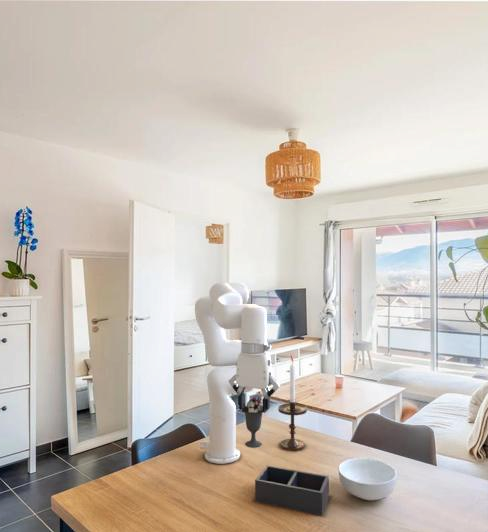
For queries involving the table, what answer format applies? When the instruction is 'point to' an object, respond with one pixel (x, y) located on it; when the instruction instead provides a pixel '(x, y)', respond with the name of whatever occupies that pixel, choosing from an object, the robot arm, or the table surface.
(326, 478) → the caddy
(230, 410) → the robot arm
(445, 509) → the table surface
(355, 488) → the cereal bowl
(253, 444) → the sundae
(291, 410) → the candlestick
